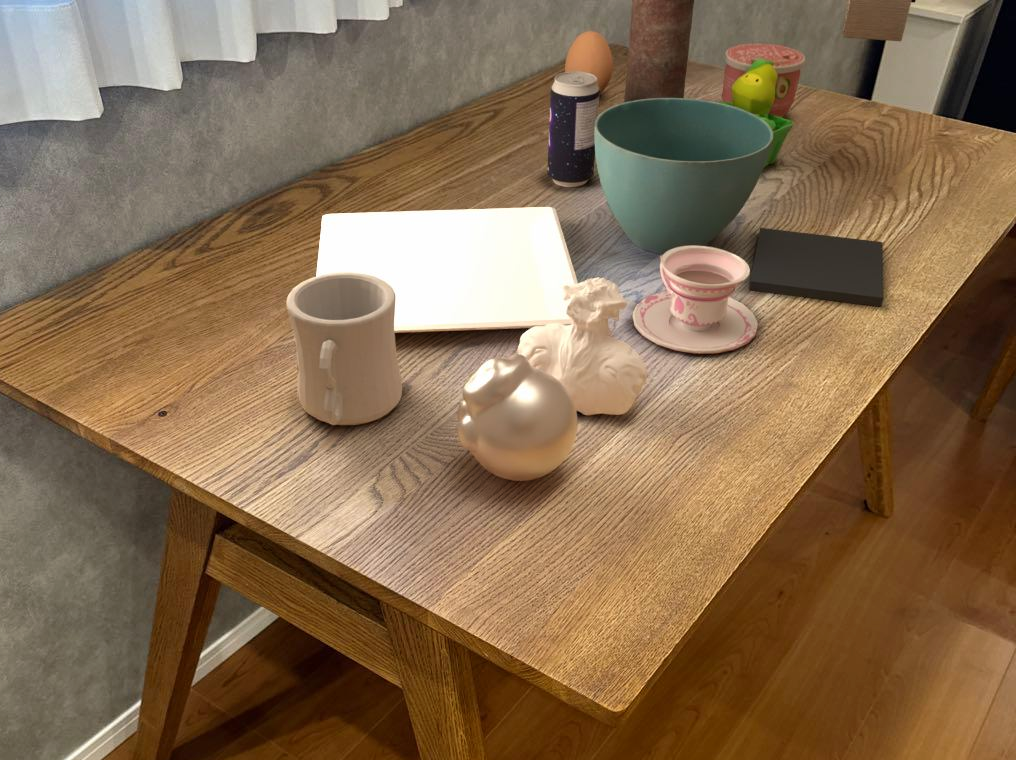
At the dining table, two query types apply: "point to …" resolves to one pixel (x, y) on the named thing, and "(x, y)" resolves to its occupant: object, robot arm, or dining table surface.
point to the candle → (658, 49)
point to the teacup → (697, 302)
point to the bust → (588, 351)
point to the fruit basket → (761, 101)
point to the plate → (457, 265)
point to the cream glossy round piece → (516, 419)
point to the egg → (591, 57)
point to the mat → (818, 267)
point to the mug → (345, 347)
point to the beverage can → (572, 128)
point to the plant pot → (678, 167)
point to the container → (784, 65)
